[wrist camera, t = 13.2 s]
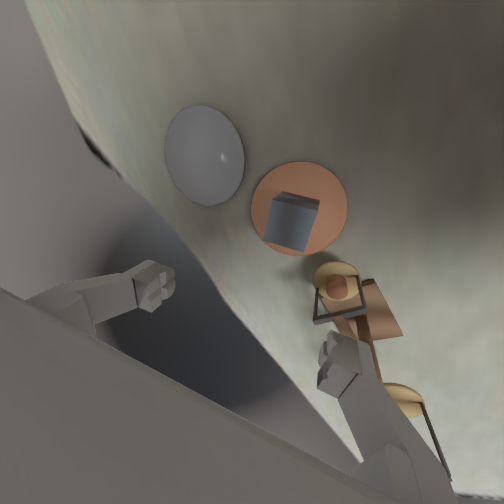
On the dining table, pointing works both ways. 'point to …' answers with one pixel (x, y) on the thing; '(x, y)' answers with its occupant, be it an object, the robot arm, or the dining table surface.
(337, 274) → the balance
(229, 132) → the grey dish
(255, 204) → the terracotta dish
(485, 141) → the dining table surface
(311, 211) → the block
